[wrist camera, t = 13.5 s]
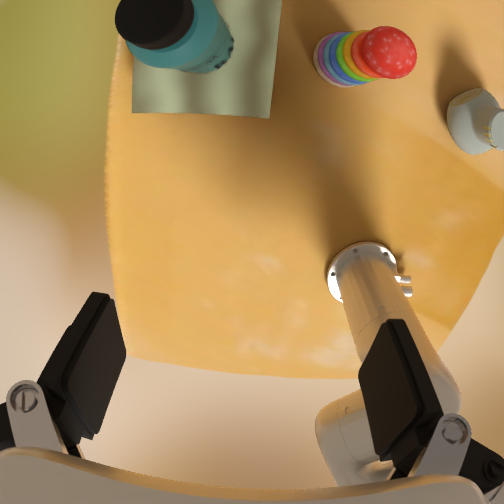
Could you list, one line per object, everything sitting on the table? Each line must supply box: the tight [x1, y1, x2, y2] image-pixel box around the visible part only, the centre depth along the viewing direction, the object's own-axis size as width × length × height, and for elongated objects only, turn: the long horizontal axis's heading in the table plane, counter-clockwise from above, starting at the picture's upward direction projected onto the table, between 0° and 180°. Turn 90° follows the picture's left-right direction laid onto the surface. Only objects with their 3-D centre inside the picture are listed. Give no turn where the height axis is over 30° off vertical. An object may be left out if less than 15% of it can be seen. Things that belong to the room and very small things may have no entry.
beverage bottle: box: [115, 0, 235, 74], centre depth 20 cm, size 6×7×20 cm
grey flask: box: [447, 88, 504, 155], centre depth 33 cm, size 11×8×10 cm
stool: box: [132, 0, 282, 119], centre depth 32 cm, size 16×16×8 cm
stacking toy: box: [313, 26, 417, 88], centre depth 27 cm, size 8×8×19 cm
